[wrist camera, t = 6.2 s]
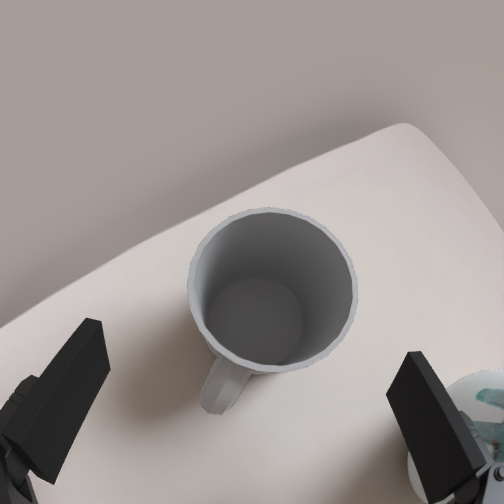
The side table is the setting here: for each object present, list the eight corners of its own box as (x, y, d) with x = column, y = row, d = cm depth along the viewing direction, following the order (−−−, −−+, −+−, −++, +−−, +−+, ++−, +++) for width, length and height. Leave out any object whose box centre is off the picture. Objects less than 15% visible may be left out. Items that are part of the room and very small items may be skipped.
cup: (321, 301, 21) (376, 250, 13) (261, 427, 17) (288, 462, 9) (233, 257, 22) (238, 183, 14) (165, 378, 18) (120, 376, 10)
